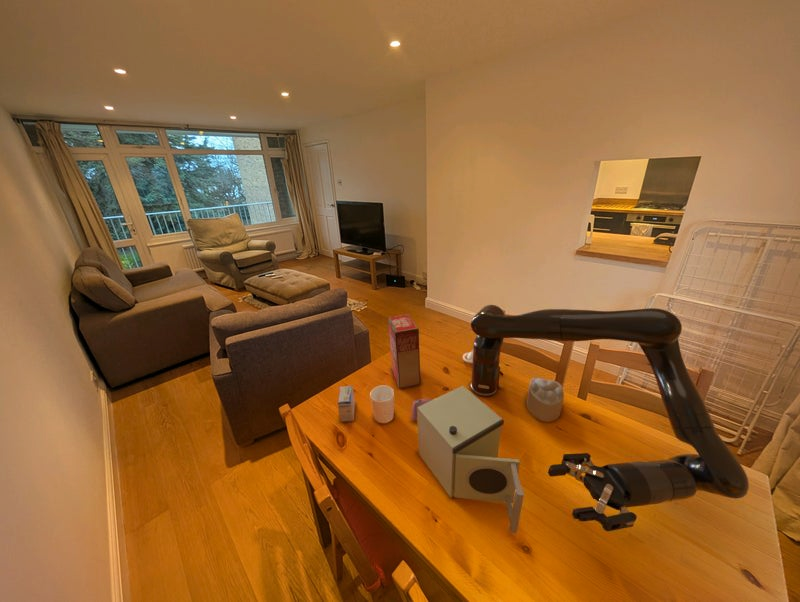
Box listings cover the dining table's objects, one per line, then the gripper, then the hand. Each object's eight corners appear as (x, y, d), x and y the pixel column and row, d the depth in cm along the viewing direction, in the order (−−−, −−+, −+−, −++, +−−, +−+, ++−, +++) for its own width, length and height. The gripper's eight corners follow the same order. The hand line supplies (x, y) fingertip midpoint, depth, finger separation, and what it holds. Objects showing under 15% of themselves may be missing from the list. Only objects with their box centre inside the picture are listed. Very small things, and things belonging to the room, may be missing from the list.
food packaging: (391, 368, 124) (387, 316, 114) (412, 364, 126) (410, 312, 116) (398, 389, 112) (394, 332, 102) (422, 384, 114) (420, 328, 104)
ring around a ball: (465, 367, 122) (484, 366, 122) (466, 356, 120) (485, 354, 120) (460, 357, 129) (478, 355, 130) (460, 346, 127) (478, 344, 128)
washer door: (512, 500, 72) (519, 459, 66) (520, 538, 64) (528, 496, 58) (454, 494, 74) (455, 453, 68) (455, 530, 66) (457, 488, 60)
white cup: (398, 410, 102) (397, 387, 98) (390, 427, 96) (388, 403, 91) (378, 405, 105) (375, 383, 101) (369, 422, 98) (366, 399, 94)
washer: (460, 430, 93) (463, 382, 85) (497, 468, 81) (504, 417, 73) (418, 453, 86) (416, 404, 78) (452, 499, 74) (454, 446, 66)
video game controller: (441, 418, 100) (440, 398, 100) (441, 423, 95) (441, 402, 96) (412, 417, 101) (412, 397, 101) (411, 422, 96) (411, 401, 97)
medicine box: (343, 405, 106) (339, 386, 102) (355, 404, 106) (352, 385, 102) (340, 422, 99) (337, 402, 95) (354, 421, 99) (351, 401, 95)
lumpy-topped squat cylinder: (559, 398, 103) (563, 378, 100) (561, 425, 93) (566, 404, 89) (527, 391, 108) (530, 372, 104) (525, 416, 97) (529, 396, 93)
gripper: (661, 532, 55) (578, 542, 55) (606, 463, 68) (539, 471, 67) (674, 508, 52) (587, 518, 51) (615, 441, 65) (544, 448, 64)
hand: (560, 491), depth 59 cm, fingers open, 8 cm apart
